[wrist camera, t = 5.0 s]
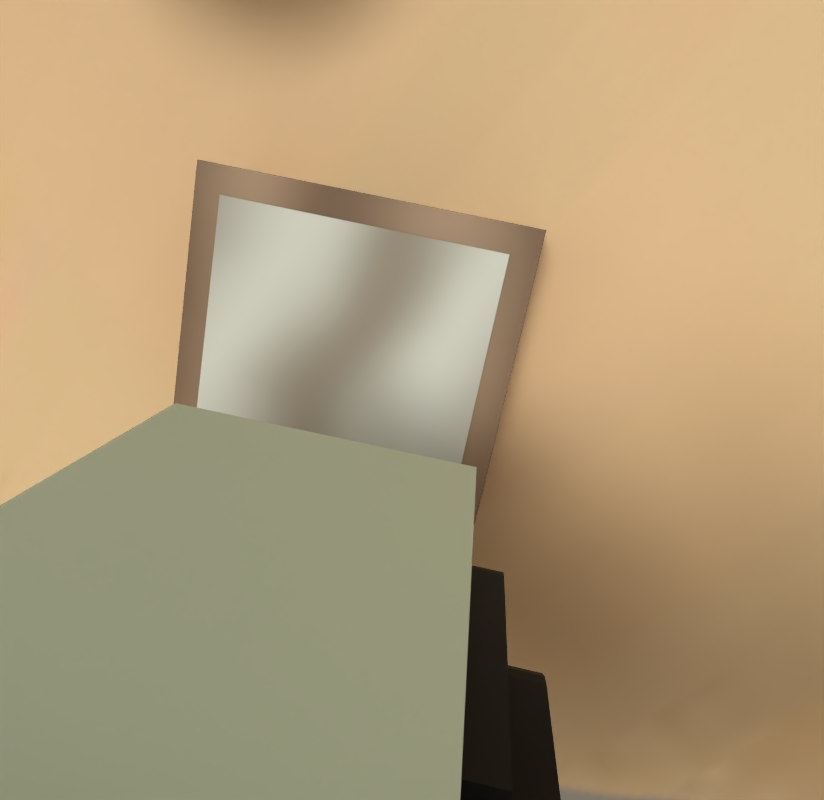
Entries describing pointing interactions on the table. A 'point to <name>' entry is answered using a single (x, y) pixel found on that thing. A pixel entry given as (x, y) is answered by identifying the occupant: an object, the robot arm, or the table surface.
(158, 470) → the green block
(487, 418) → the base block
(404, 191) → the table surface
